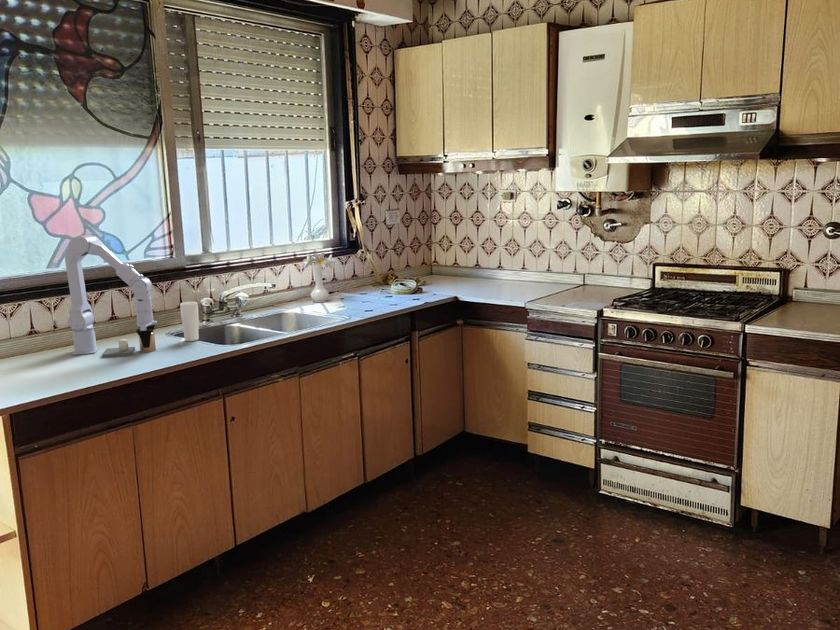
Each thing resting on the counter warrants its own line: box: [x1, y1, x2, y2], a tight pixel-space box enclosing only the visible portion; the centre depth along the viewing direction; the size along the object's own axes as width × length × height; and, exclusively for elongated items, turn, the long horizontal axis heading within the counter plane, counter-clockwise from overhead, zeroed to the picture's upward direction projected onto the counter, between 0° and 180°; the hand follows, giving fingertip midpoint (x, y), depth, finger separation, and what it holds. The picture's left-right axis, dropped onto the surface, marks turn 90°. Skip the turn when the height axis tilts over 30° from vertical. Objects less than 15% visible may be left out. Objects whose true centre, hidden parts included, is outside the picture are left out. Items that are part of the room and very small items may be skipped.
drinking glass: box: [179, 301, 200, 342], centre depth 294 cm, size 7×7×15 cm
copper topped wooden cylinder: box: [138, 331, 157, 353], centre depth 279 cm, size 6×6×7 cm
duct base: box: [101, 338, 136, 358], centre depth 275 cm, size 10×10×5 cm
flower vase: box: [302, 252, 337, 303], centre depth 376 cm, size 13×18×25 cm
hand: (147, 345), depth 279 cm, fingers closed on copper topped wooden cylinder, 5 cm apart
